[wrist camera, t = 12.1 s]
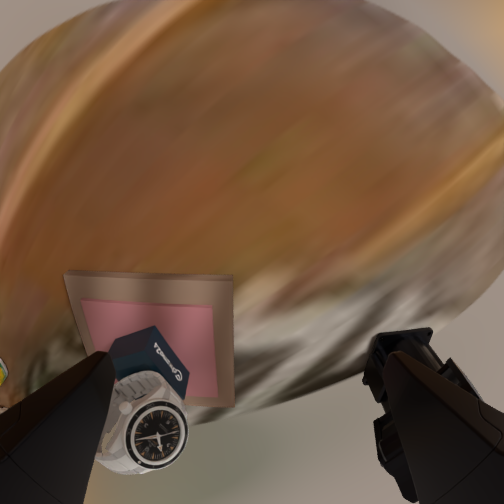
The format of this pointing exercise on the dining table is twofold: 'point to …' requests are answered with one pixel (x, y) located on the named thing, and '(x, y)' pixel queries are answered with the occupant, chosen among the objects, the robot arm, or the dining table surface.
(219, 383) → the pink square tray
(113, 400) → the watch
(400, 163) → the dining table surface
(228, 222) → the dining table surface
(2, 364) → the supplement bottle
